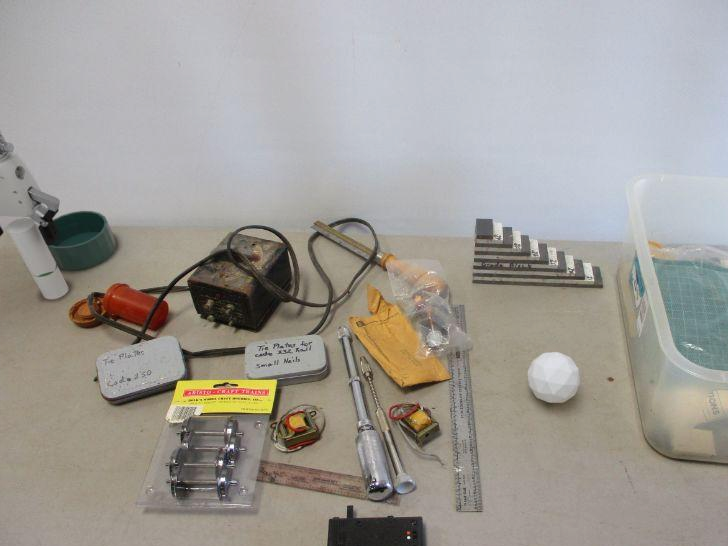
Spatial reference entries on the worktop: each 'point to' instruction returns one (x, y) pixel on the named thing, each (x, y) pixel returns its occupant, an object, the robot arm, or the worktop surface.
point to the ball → (553, 377)
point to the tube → (37, 257)
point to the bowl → (82, 240)
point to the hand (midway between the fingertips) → (25, 239)
